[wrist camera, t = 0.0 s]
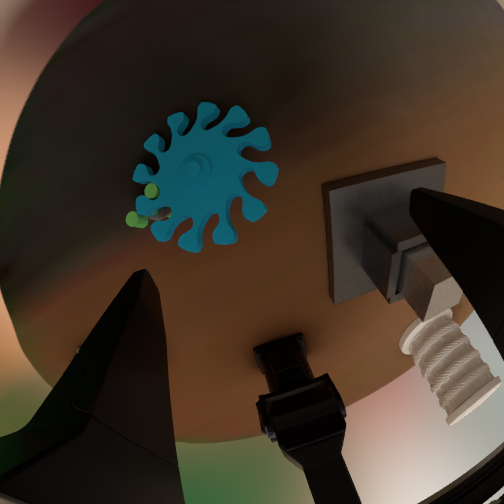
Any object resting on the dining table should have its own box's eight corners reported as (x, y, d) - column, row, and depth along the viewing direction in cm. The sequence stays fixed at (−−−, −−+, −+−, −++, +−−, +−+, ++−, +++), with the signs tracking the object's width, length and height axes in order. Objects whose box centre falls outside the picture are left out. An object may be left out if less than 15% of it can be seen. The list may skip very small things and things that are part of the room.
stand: (423, 259, 34) (453, 291, 29) (329, 296, 33) (354, 338, 28) (436, 157, 26) (481, 183, 20) (321, 184, 25) (360, 221, 20)
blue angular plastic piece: (234, 72, 17) (304, 204, 16) (256, 111, 23) (311, 219, 21) (104, 156, 19) (141, 283, 18) (146, 174, 25) (183, 279, 24)
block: (409, 249, 30) (459, 303, 22) (374, 262, 29) (422, 323, 22) (413, 212, 27) (473, 264, 19) (376, 224, 26) (434, 284, 19)
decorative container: (392, 357, 48) (436, 435, 34) (407, 317, 41) (466, 407, 27) (438, 335, 49) (483, 402, 35) (456, 294, 42) (514, 369, 28)
